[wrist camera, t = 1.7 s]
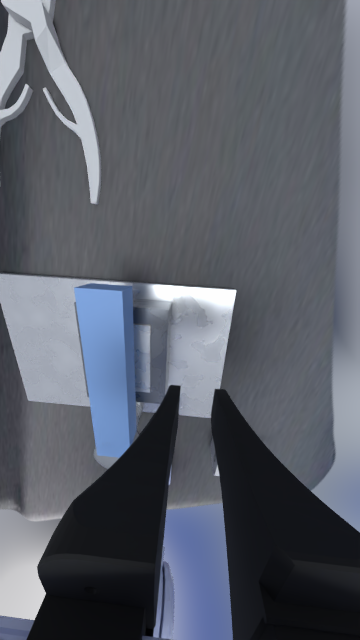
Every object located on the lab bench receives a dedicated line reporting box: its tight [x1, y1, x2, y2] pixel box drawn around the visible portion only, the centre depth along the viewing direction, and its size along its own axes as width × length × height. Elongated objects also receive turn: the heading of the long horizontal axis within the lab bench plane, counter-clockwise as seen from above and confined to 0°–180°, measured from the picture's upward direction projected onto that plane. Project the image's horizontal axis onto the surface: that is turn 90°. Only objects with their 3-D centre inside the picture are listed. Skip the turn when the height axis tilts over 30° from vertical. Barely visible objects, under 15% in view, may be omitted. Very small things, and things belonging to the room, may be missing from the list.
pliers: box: [0, 0, 101, 205], centre depth 13 cm, size 10×2×15 cm
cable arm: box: [74, 283, 139, 469], centre depth 15 cm, size 17×4×2 cm, turn 177°
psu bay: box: [0, 272, 236, 430], centre depth 18 cm, size 16×24×5 cm, turn 87°
